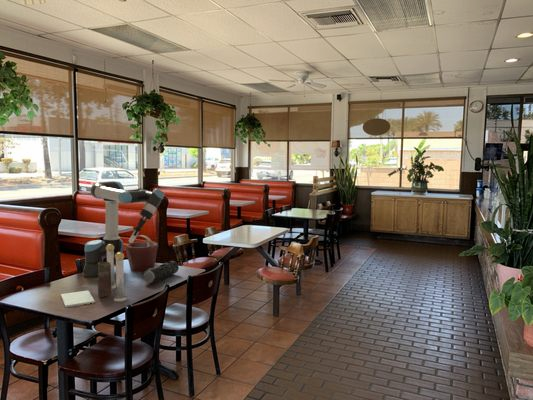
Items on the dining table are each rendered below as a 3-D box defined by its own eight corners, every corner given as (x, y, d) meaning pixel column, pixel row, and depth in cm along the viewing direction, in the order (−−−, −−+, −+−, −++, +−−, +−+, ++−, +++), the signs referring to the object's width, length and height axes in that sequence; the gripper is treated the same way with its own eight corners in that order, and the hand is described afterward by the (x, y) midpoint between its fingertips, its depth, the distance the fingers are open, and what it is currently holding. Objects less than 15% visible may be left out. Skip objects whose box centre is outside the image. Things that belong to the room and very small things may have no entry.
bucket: (122, 267, 313) (122, 234, 310) (151, 263, 326) (150, 231, 324) (134, 275, 293) (134, 240, 291) (164, 270, 307) (164, 236, 304)
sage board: (65, 307, 229) (65, 305, 229) (60, 296, 247) (60, 294, 247) (94, 303, 237) (94, 300, 237) (88, 292, 255) (88, 290, 255)
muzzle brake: (179, 275, 295) (179, 261, 294) (154, 286, 269) (154, 270, 268) (167, 273, 299) (167, 259, 298) (142, 284, 273) (142, 268, 272)
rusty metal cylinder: (100, 293, 253) (99, 260, 251) (113, 293, 254) (112, 260, 252) (96, 297, 246) (95, 264, 244) (109, 297, 246) (108, 263, 244)
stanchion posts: (115, 302, 237) (114, 254, 235) (103, 287, 265) (102, 243, 262) (128, 300, 241) (127, 252, 238) (115, 285, 269) (114, 242, 266)
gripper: (155, 211, 255) (137, 242, 248) (151, 217, 278) (134, 245, 271) (144, 205, 253) (126, 236, 246) (141, 211, 276) (124, 240, 269)
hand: (130, 241), depth 258 cm, fingers open, 13 cm apart
